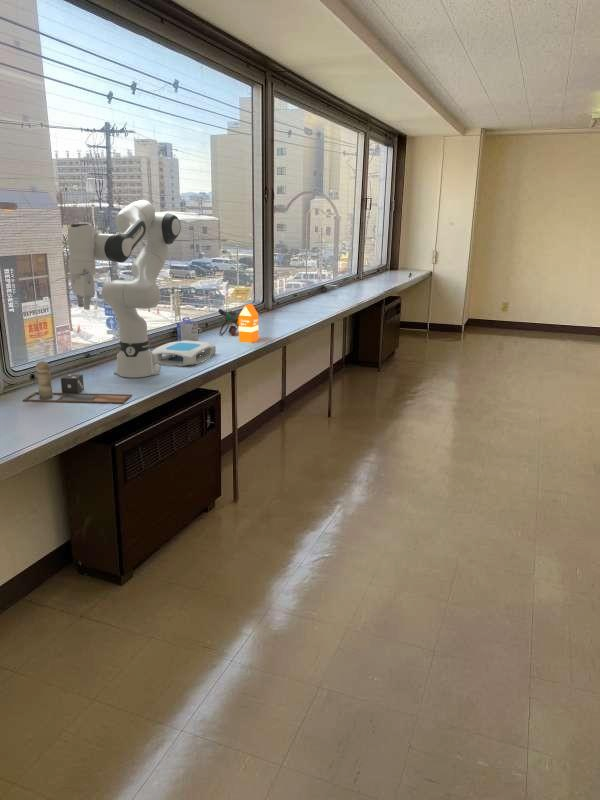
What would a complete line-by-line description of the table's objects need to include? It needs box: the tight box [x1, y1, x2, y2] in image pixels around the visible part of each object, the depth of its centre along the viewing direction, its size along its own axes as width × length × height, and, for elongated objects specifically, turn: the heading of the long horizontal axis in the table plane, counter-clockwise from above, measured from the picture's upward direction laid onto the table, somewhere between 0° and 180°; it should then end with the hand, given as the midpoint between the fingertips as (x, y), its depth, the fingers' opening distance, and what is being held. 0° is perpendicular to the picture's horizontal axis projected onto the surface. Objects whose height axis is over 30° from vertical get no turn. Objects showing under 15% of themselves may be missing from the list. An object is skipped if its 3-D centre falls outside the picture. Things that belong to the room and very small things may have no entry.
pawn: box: [35, 361, 54, 400], centre depth 215 cm, size 5×5×14 cm
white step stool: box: [151, 340, 216, 367], centre depth 279 cm, size 21×28×6 cm
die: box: [60, 373, 85, 393], centre depth 224 cm, size 6×6×6 cm
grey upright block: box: [176, 316, 199, 342], centre depth 307 cm, size 10×6×14 cm, turn 124°
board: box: [22, 391, 133, 405], centre depth 217 cm, size 10×36×1 cm, turn 89°
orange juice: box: [238, 303, 259, 344], centre depth 320 cm, size 8×9×20 cm
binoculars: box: [217, 308, 239, 337], centre depth 337 cm, size 14×14×15 cm
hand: (83, 308), depth 215 cm, fingers open, 8 cm apart
